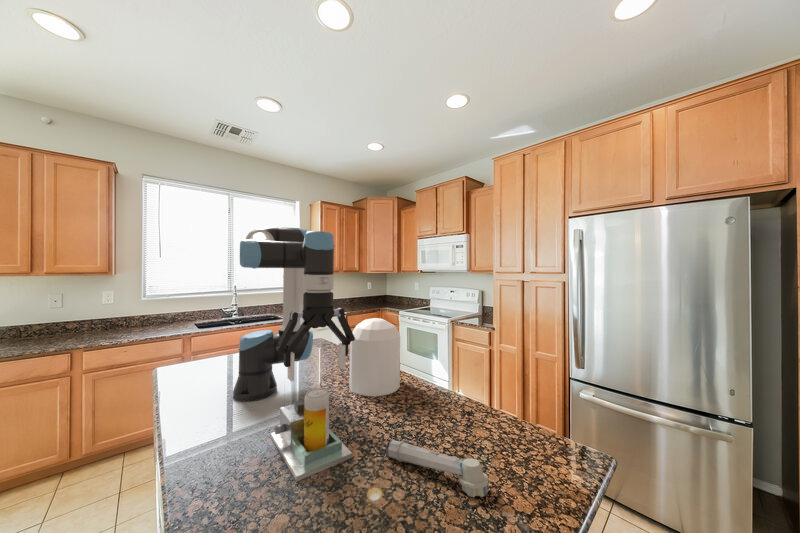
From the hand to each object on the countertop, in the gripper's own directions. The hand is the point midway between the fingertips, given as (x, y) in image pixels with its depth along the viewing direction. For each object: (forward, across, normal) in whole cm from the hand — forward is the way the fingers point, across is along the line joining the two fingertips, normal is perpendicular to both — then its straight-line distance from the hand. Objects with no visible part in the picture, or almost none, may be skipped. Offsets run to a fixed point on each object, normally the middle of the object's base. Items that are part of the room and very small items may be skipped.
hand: (317, 373), depth 75 cm
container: (+21, +36, +30) cm, 51 cm away
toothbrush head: (+21, +19, -23) cm, 37 cm away
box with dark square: (+21, 0, +4) cm, 21 cm away
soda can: (+20, 0, -1) cm, 20 cm away
